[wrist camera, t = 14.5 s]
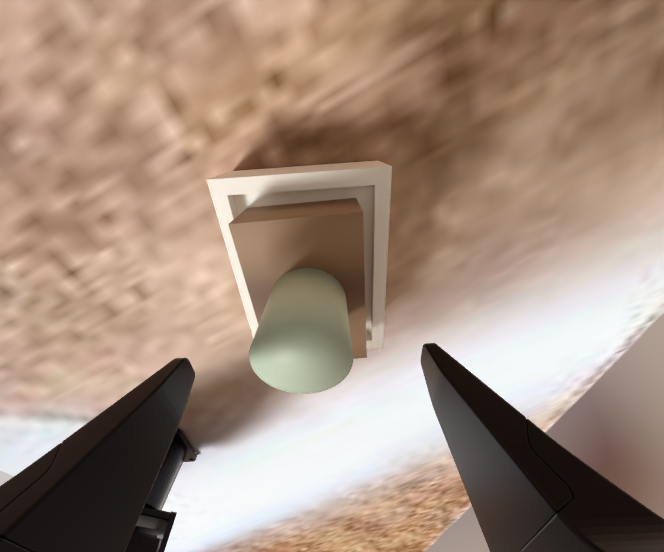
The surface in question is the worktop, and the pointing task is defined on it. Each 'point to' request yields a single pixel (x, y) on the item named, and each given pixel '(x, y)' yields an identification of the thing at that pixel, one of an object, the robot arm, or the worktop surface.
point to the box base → (309, 186)
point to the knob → (303, 334)
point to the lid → (305, 252)
